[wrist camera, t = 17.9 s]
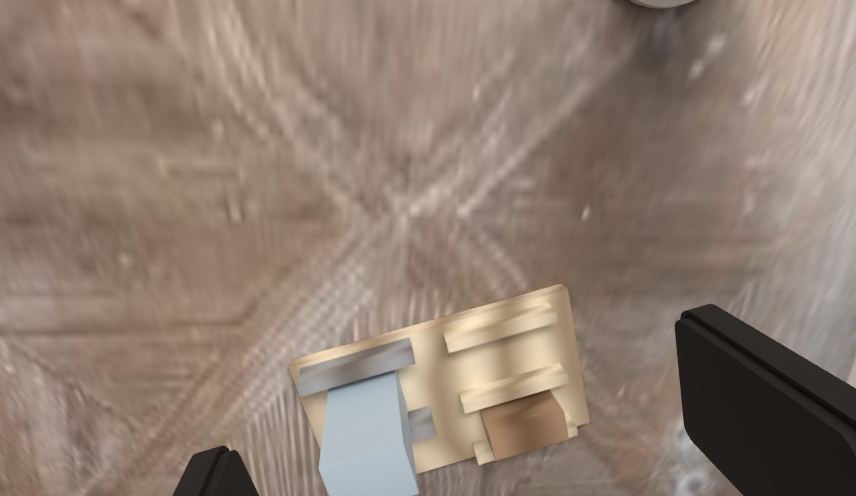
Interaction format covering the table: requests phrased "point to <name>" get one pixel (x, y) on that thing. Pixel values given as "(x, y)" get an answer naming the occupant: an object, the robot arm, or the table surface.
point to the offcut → (524, 424)
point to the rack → (460, 372)
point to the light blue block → (368, 440)
